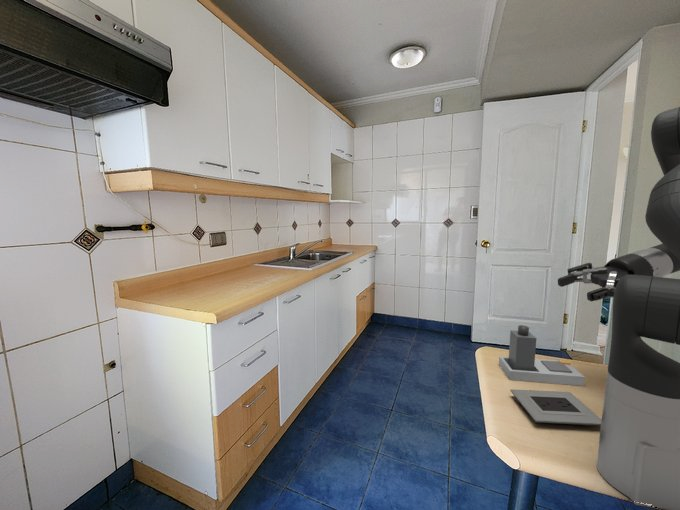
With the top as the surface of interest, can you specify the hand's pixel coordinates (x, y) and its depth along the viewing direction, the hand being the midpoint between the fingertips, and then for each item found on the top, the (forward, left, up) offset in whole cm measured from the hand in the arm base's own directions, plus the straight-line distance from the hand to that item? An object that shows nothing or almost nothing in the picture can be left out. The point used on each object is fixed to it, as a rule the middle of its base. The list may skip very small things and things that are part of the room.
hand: (572, 289), depth 70 cm
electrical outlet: (-12, +8, -25) cm, 29 cm away
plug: (+4, +9, -24) cm, 26 cm away
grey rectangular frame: (+4, +4, -24) cm, 25 cm away
